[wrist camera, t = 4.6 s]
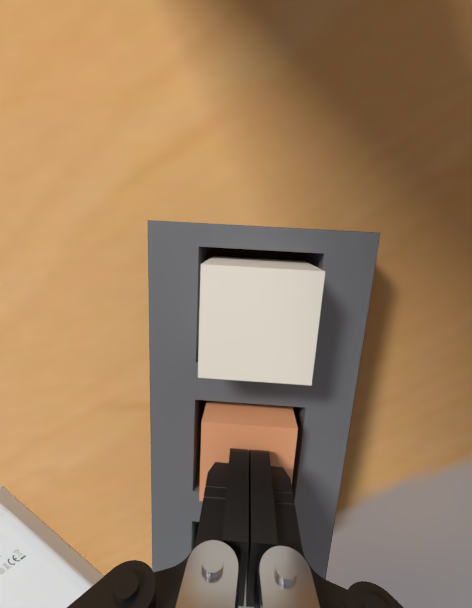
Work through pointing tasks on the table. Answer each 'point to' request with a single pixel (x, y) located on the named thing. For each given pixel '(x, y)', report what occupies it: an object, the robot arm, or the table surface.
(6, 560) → the external hard drive
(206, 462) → the terracotta button
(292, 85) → the table surface
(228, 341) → the cream button
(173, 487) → the keypad
